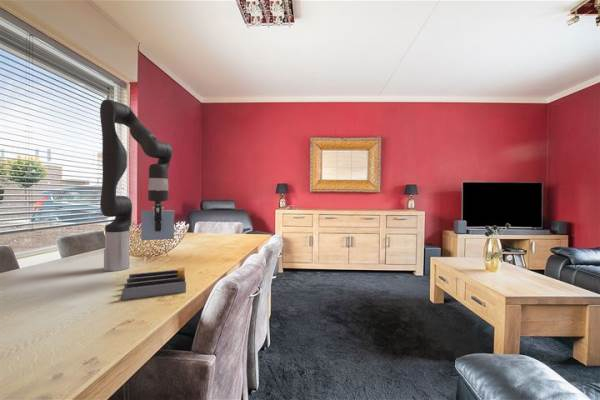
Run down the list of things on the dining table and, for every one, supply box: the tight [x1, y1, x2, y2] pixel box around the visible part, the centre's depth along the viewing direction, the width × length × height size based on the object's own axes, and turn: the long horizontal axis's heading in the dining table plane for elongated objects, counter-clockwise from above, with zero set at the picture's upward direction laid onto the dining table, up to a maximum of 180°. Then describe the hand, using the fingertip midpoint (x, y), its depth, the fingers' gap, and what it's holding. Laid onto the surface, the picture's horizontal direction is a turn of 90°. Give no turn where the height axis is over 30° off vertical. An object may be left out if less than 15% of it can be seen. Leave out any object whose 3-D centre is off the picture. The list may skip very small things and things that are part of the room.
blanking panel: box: [140, 209, 175, 241], centre depth 114 cm, size 12×3×12 cm, turn 116°
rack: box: [121, 267, 187, 302], centre depth 100 cm, size 19×18×6 cm
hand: (158, 230), depth 114 cm, fingers closed on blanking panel, 3 cm apart
